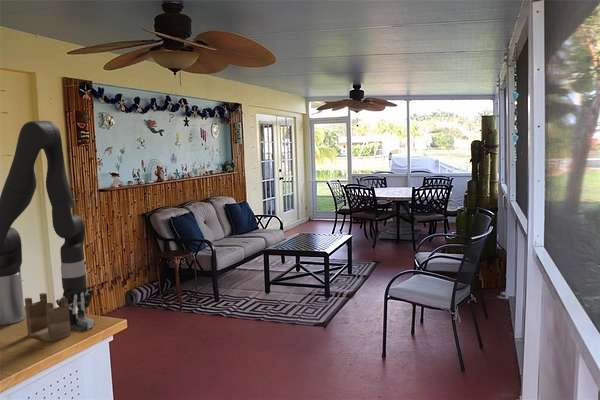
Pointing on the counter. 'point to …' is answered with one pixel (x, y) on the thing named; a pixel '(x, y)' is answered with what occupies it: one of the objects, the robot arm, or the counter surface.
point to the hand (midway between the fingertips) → (77, 322)
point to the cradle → (47, 319)
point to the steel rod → (84, 321)
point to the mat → (76, 327)
